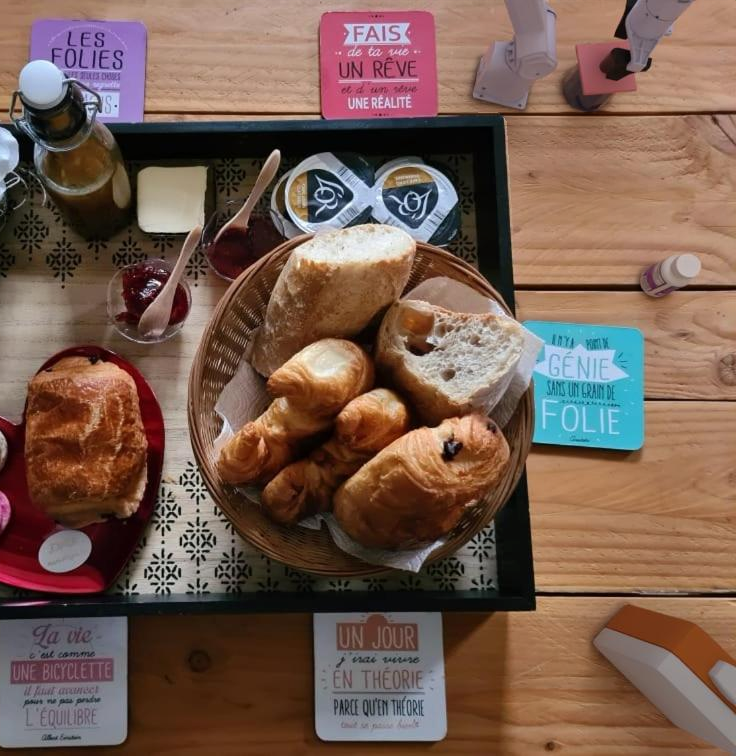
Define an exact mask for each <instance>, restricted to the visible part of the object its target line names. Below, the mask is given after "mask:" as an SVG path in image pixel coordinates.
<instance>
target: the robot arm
mask: <svg viewBox="0 0 736 756" xmlns="http://www.w3.org/2000/svg"><path fill="white" fill-rule="evenodd" d="M503 1H504V4H505V8H506V11H507V14H508V18H509V20H510V23H511V25H512V29H513V32H514V34H513V35H512V36H513V37H512V39H511V40H506V41H500V40H493V41H492V42H491V44H490V46H489V47H488V49H487V50H486V52H485V53H484V55H483V56H482V57H481V58H480V61H479V65H478V68H477V72H476V78H475V83H474V87H473V91H472V98H474V99H477V100H481V101H485V102H489V103H493V104H497V105H501V106H505V107H509V108H512V109H517V110H521V111H524V110H525V109H526V106H527V101H528V97H529V94H530V93H529V92H530V89H531V87H532V86H533V84H534V83H535V82H536V81H537V80H541V79H543V78H546V77H548V76H549V75H551V74H552V73H554V71H556V69H557V67H558V64H559V63H558V59H557V26H556V25H557V17H558V15H557V12H556V10H555V9H554V8H552V7H551V6H550V5H549V4H548V2H547V0H503ZM696 1H697V0H626V2H625V7H624V12H623V13H622V16H621V18H620V21H619V22H618V24H617V26H616V28H615V31H614V34H613V38H615V39H620V40H623V41H628V42H629V47H630V50H627V49H623V48H619V47H618V48H617V51H616V56H615V60H614V62H613V64H612V65H611V67H610V68H609V70H608V71H607V74H606V79H609V80H613V81H618V80H620V79H622V78H624V77H626V76H628V75H630V74H633V73H634V74H636V73H638V74H640V73H646V72H647V71H648V70H649V69H650V68H651V67H652V62H653V58H652V57H650V56H651V55H652V53H653V52H654V50H655V48H656V47H657V46H658V44H659V43H660V41H661V40H662V38H663V37H670V36H671V35H672V34H673V33H674V28H675V25H674V23H675V22H676V21H677V19H678V18H679V17H680V16H682V15H683V14H684V12H686V10H688V8H689V7H691V5H693V3H694V2H696Z"/></svg>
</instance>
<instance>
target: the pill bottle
mask: <svg viewBox="0 0 736 756" xmlns="http://www.w3.org/2000/svg"><path fill="white" fill-rule="evenodd" d="M701 270H702V263H701V261H700V259H699V258H698V257H697V256H696V255H694V254H692V253H682V254H674V255H670V256H667V257H666V258H663V259H662V260H660V261H658V262H656V263H655V264H653V265H651V266H649V267H648V268H646V269H645V270H644V271H642V273H641V275H640V277H639V284H640V287H641V289H642V290H643V291H644V293H645V294H647V295H648V296H650V297H654V298H659V297H663V296H665V295H666V296H667V295H669V294H670V293H673V292H675V291H677V290H679V289H681V288H684V287H686V286H688V285H689V284H690V283H691V282H692V281H693V280H694V279H695V277H696V276H698V275H699V274H700V273H701Z"/></svg>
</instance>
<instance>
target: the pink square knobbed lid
mask: <svg viewBox="0 0 736 756" xmlns="http://www.w3.org/2000/svg"><path fill="white" fill-rule="evenodd" d="M618 47H619V48H623V49H627V50H630V47H629V42H628V40H621V41H608V42H594V43H579V44H576V45H575V46H574V49H575V55H576V60H577V63H578V67H579V73H580V78H581V84H582V90H583V95H594V94H607V93H616V94H618V93H619V94H620V93H631V92H633V93H634V92H637V91H638V86H637V85H638V84H637V80H636V74H635V73H633V74H630V75H628V76H626V77H624V78H622V79H620V80H618V81H613V80H609V79H606V74H607V71H608V70H609V68H610V67H611V65H612V64H613V62H614V60H615V56H616V51H617V48H618Z"/></svg>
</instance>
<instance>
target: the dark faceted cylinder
mask: <svg viewBox="0 0 736 756" xmlns="http://www.w3.org/2000/svg"><path fill="white" fill-rule="evenodd" d="M616 94H617V93H607V94H594V95H583V90H582V84H581V78H580V73H579V67H578V62H577V63H576V64H575V65H574V66H573V67H572V68H571V69H570V71H569V72H568V74H567V75H566V76H565V78H564V80H563V83H562V95H563V96H564V99H565V100H566V102H567V103H568V104H569V105H570V106H571V107H573V108H574V109H575V110H578V111H582V112H595V111H597V110H599V109H601V108H602V107H603V106H605V105H606V104H607V103H608V102H609V101H610V100H611V99H612V98H614V96H616Z"/></svg>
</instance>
